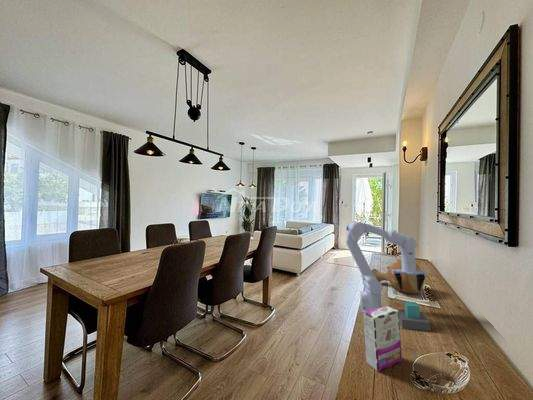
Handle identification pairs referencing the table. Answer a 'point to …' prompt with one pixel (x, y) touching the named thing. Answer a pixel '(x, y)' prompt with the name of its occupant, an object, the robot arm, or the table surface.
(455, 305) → the table surface
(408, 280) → the jug
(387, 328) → the candy bar box
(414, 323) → the block
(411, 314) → the teal block
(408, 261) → the robot arm
